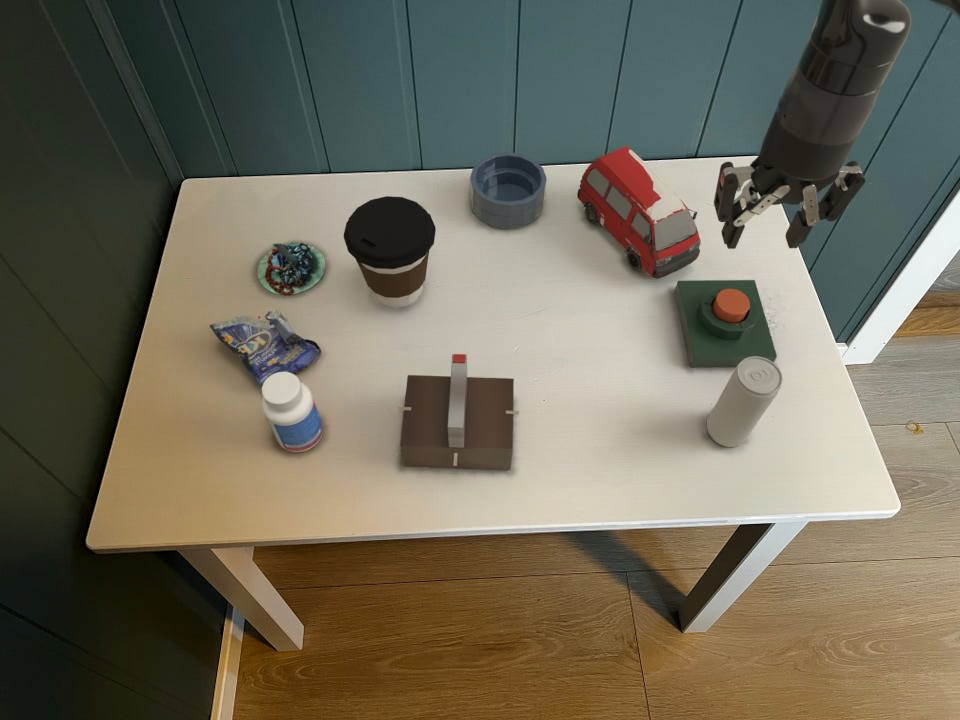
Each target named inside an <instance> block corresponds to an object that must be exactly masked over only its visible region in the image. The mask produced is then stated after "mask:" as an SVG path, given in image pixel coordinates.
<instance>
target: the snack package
mask: <svg viewBox="0 0 960 720" xmlns="http://www.w3.org/2000/svg"><path fill="white" fill-rule="evenodd" d="M264 317H265V320H267V321H269V322H263V321H257V320H256V321H255V320H253V319H249V318H247V317H244V316H235V317H234V319H232V320H226V321H223V322H220V323H211V324H209V328H210V329H211V331H212V332H213V334H214V336H215V337H217V339H218V340H219V341H220V342H221V343H222V344H223V345H224V346H225V347H227V348H228V350H230V351H231V352H232V353H234V354H236V356H238V357H239V358H240V360H241V362H242V364H243V366H244V367H245V369H246V371H247V372H248V373H249V374H250V375H251V376H252V377H253V378H254V380H255V381H256V382H257V383H258V385H260V386H261V387H262V386H263V384H264V382H265V380H266V379H267V378H268V377H270V376H271V375H273V374H275V373H278V372H289V373H292V374H297V372H299V371H301V370H303V369H307V368H308V366H311V364H312V363H313V362H314V361H315V360H316V358H318V356H319V355H320V354H321V353H322V349H321V347H320V345H319V344H318V343H317V341H314V340H311V339H306V338H304V337H302V336H300V335H298V334H297V332H295V330H294V329H293V328H292V326H291V325H290V323H289V321H288V319H287V317H286V316H284V314H283V313H281V312H280V311H278V310H277V309H275V310H272V311H268V312H267V313H266V314H265V315H264ZM257 319H258V320H259V319H261V316H260V315H259V316H258V317H257Z"/></svg>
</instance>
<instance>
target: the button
mask: <svg viewBox="0 0 960 720" xmlns="http://www.w3.org/2000/svg"><path fill="white" fill-rule="evenodd" d="M749 307H750V302H749V299H748V297H747V296H746V295H745V294H744V293H742V292H741V291H739V290H736V289H725V290H722V291H721V292H719V293H718V295H717V297H716V299H715V302H714V304H713V311H714V314H715V315H716V316H717V317H718V318H719V319H720V320H722V321H724V322H728V323H736V322H739V321H741V320H743V319H744V317H745V315H746V313H747V311H748V309H749Z"/></svg>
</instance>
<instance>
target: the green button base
mask: <svg viewBox="0 0 960 720" xmlns="http://www.w3.org/2000/svg"><path fill="white" fill-rule="evenodd" d="M725 289H736V290H739V291H741V292H742V293H744V294H745V295H746V296H747V297H748V299H749V302H750V307H749V309H748V311H747V313H746V315H745V317H744V319H743V320H741V321H739V322H736V323H728V322H724V321H722V320H720V319H719V318H718V317H717V316H716V315H715V314H714V311H713V304H714V302H715V299H716V297H717V295H718V293H719V292H721V291H722V290H725ZM674 297H675V302H676V307H677V312H678V317H679V321H680V326H681V330H682V335H683V339H684V345H685V349H686V355H687V359H688V364H689V368H736V367H737V365H738V364H739V363H740V362H741V361H742V360H744V359H746V358H748V357H753V356H757V357H763V358H766V359H768V360H770V361H772V362H773V363H774V362H775V361H776V359H777V357H778V355H777V351H776V348H775V345H774V341H773V338H772V335H771V331H770V327H769V324H768V320H767V317H766V314H765V309H764V307H763V303H762V300H761V296H760V293H759V290H758V286H757V283H756V280H755V279H732V280H731V279H719V280H718V279H717V280H716V279H713V280H708V279H706V280H703V279H702V280H700V279H699V280H697V279H696V280H677V282H676V284H675V287H674Z"/></svg>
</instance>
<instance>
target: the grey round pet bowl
mask: <svg viewBox="0 0 960 720" xmlns="http://www.w3.org/2000/svg"><path fill="white" fill-rule="evenodd" d="M547 179H548V178H547V175H546V172H545V169H544V167H542V166H541V164H540V163H539V162H537V161H536V159H534V158H531V157H530V156H527V155H525V154H523V153H517V152H508V151H507V152H497V153H493V154H490V155H488V156H486V157H484V158H481V159H480V160H479V161H478V162H477V163H476V164H475V165H474V166H473V167H472V170H471V173H470V177H469V202H470V206H471V209H472V213H474V215H476V216H477V218H478V219H480V220H481V221H482V222H484V223H486V224H488V225H490V226H493V227H496V228H504V229H513V228H520V227H524V226H526V225H528V224H530V223H532V222H533V221H535V220H536V219H537V218H538V217H539V216H540V215H541V213H542V212H543V209H544V205H545V201H546V200H545V199H546V188H547Z"/></svg>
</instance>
